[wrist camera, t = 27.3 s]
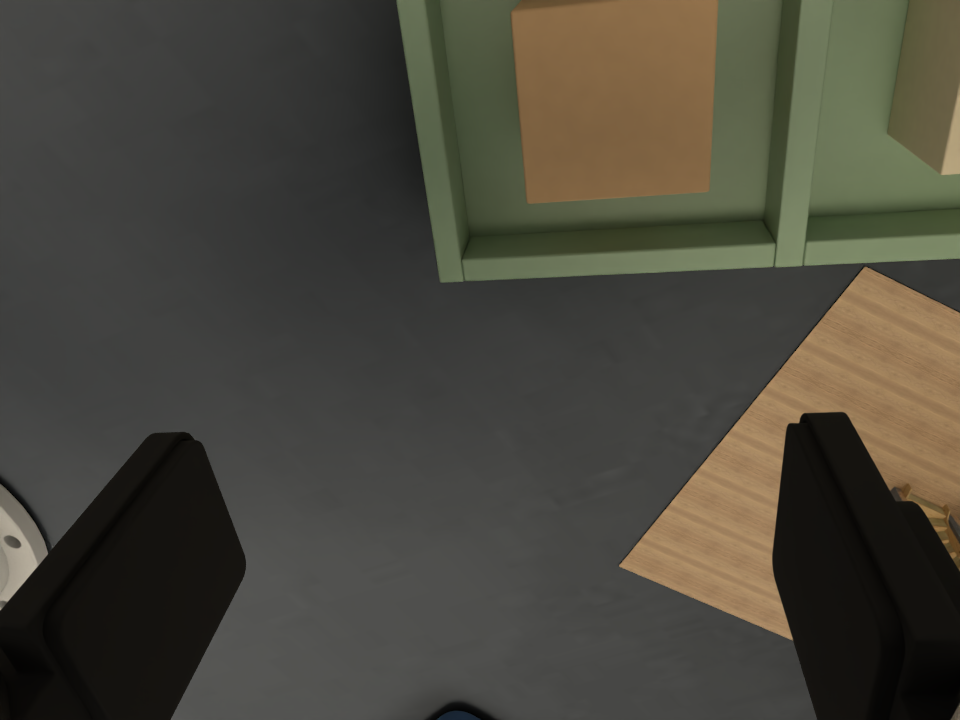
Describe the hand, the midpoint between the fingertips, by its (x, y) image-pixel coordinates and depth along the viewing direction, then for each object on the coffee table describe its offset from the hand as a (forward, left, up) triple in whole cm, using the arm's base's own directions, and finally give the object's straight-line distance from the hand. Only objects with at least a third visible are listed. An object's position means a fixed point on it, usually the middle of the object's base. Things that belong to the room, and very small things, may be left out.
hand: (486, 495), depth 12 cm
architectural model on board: (+17, -16, -15) cm, 28 cm away
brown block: (+2, +4, -14) cm, 15 cm away
